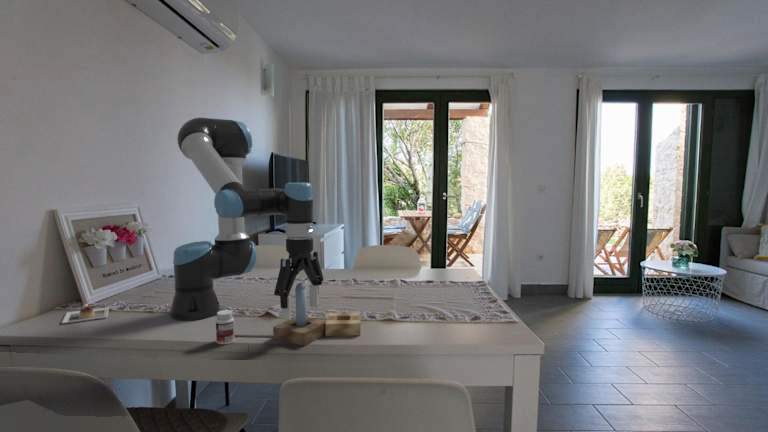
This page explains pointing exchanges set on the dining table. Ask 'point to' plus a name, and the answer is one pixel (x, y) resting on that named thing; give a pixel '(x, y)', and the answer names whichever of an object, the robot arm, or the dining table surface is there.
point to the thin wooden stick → (254, 335)
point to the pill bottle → (225, 327)
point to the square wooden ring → (299, 331)
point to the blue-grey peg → (301, 305)
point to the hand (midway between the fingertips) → (300, 312)
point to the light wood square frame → (343, 324)
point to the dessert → (85, 314)
